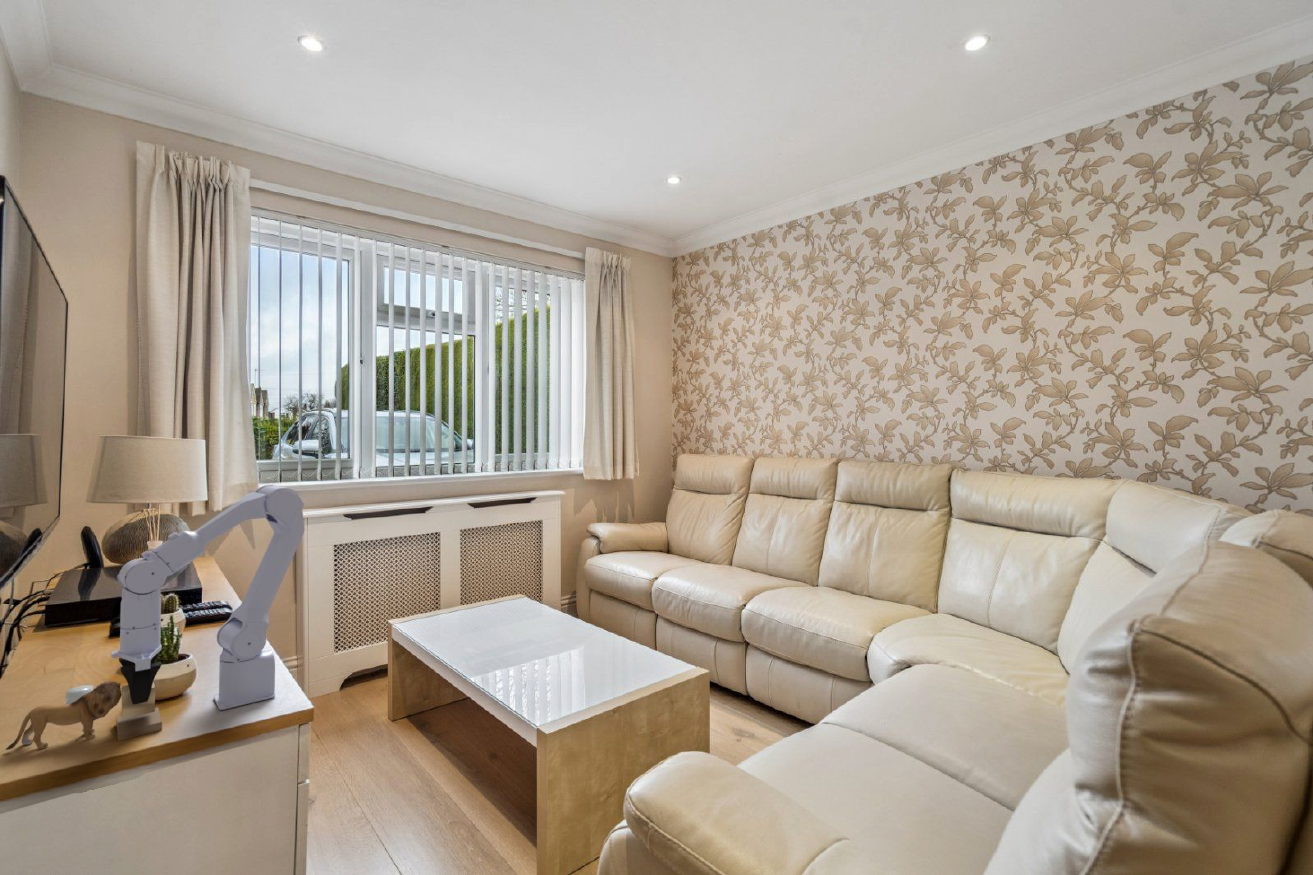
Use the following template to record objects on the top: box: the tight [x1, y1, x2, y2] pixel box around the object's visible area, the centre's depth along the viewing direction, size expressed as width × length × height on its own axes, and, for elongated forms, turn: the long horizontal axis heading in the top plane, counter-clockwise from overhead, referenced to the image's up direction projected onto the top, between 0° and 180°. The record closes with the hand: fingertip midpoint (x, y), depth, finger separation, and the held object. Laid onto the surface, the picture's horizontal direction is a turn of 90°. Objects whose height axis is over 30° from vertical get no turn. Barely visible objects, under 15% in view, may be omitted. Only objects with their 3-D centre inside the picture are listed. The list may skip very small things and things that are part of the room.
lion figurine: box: [5, 680, 122, 751], centre depth 107 cm, size 15×5×9 cm, turn 131°
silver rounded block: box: [65, 684, 94, 704], centre depth 121 cm, size 4×4×3 cm
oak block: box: [121, 681, 156, 719], centre depth 112 cm, size 4×4×4 cm
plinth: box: [115, 706, 163, 741], centre depth 112 cm, size 6×8×2 cm
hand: (139, 698), depth 112 cm, fingers closed on oak block, 4 cm apart
